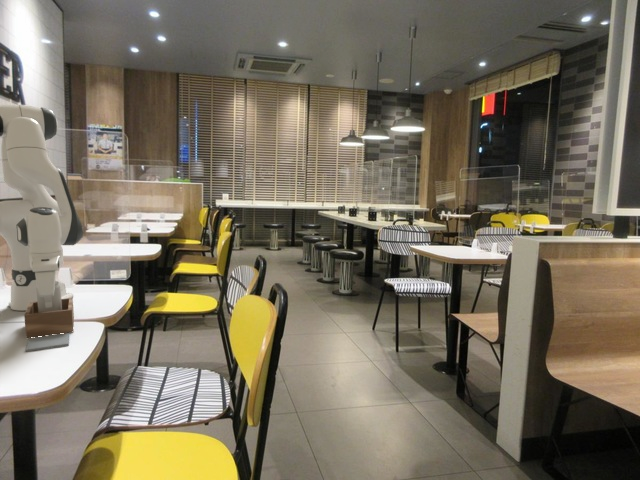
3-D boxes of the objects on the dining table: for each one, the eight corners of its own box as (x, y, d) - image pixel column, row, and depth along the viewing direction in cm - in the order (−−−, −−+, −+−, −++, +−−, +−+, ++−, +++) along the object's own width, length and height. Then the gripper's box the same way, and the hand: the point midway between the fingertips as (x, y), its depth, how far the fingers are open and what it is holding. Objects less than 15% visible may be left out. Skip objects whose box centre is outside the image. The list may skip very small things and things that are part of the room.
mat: (29, 340, 127) (29, 338, 127) (69, 334, 132) (69, 332, 132) (25, 351, 118) (25, 349, 118) (68, 345, 123) (68, 343, 123)
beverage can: (51, 324, 135) (48, 286, 133) (33, 322, 136) (30, 284, 134) (67, 317, 141) (64, 281, 139) (50, 315, 142) (47, 279, 140)
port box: (31, 323, 142) (29, 302, 141) (74, 317, 148) (72, 297, 147) (26, 338, 128) (24, 315, 127) (73, 332, 134) (71, 309, 133)
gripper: (37, 255, 143) (40, 296, 145) (31, 267, 125) (34, 314, 127) (59, 254, 146) (62, 294, 148) (57, 265, 128) (60, 311, 130)
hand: (49, 303), depth 137 cm, fingers closed on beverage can, 6 cm apart
